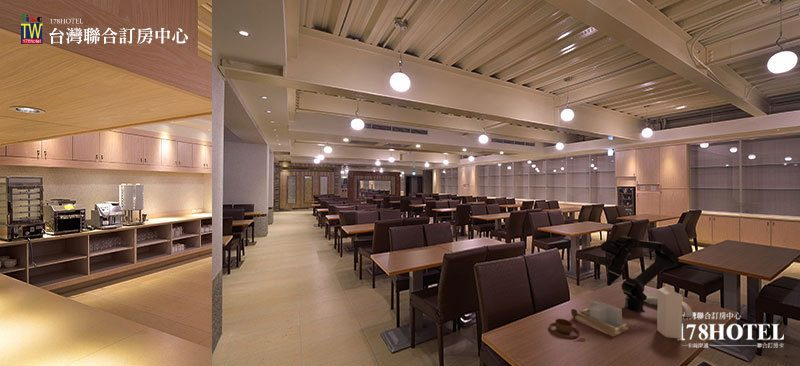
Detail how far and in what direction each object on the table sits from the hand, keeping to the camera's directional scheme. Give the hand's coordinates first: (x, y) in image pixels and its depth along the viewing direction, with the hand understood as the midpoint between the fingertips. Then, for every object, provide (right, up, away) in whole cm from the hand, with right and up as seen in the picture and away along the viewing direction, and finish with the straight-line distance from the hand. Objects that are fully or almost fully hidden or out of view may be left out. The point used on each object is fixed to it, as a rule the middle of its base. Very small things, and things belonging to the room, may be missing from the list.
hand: (607, 285), depth 152 cm
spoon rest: (+33, -13, +3) cm, 36 cm away
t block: (-14, -13, -15) cm, 24 cm away
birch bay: (-15, -13, -15) cm, 25 cm away
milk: (+10, -13, -24) cm, 30 cm away
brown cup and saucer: (-33, -14, -21) cm, 41 cm away
